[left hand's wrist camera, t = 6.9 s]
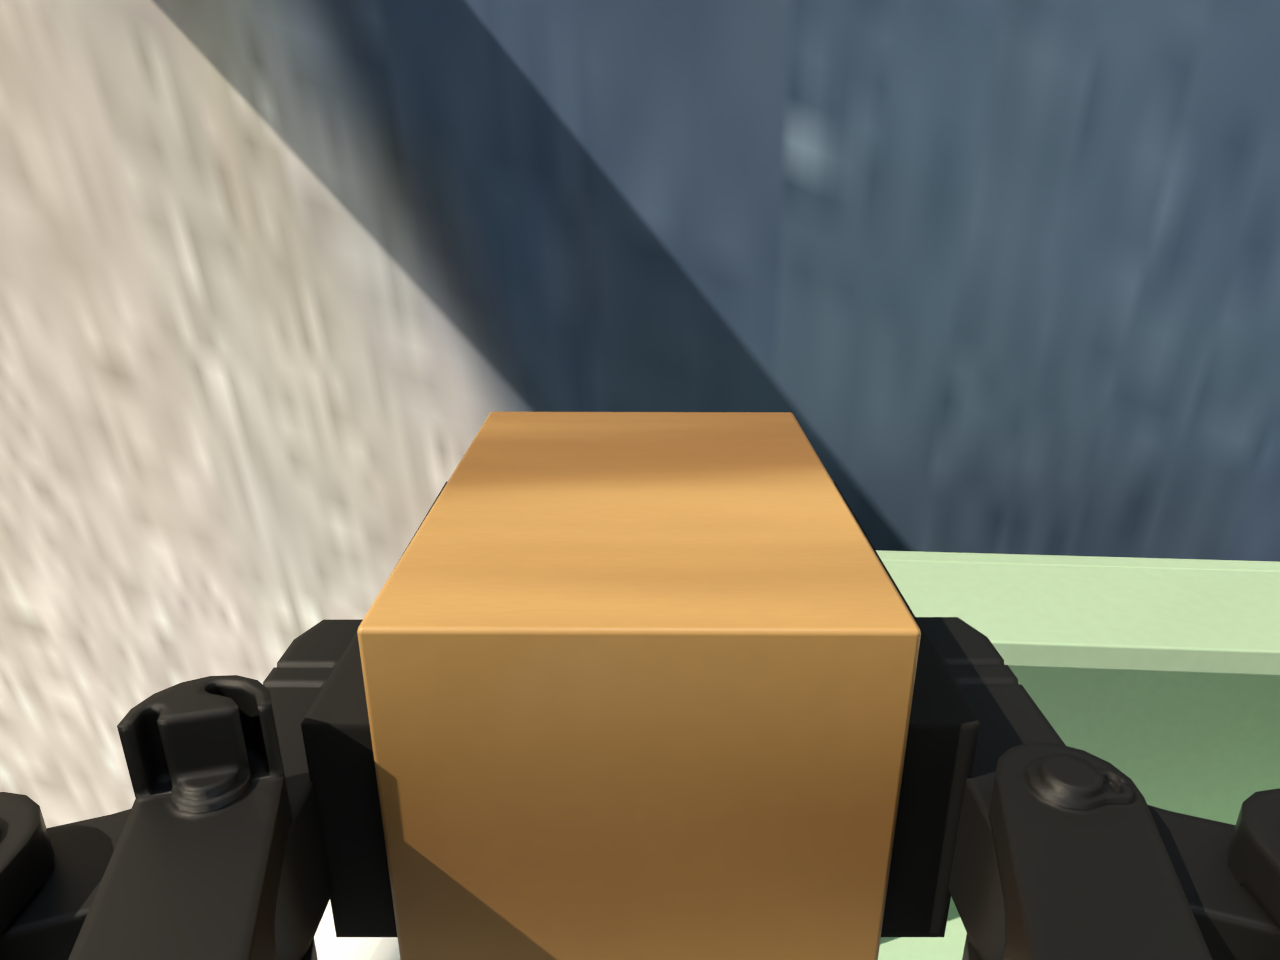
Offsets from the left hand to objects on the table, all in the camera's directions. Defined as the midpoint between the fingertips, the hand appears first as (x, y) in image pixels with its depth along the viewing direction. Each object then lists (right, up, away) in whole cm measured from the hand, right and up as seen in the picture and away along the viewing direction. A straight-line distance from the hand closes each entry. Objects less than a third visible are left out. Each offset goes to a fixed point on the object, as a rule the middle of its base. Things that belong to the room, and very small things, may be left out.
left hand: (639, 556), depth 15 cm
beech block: (0, 0, 0) cm, 0 cm away
